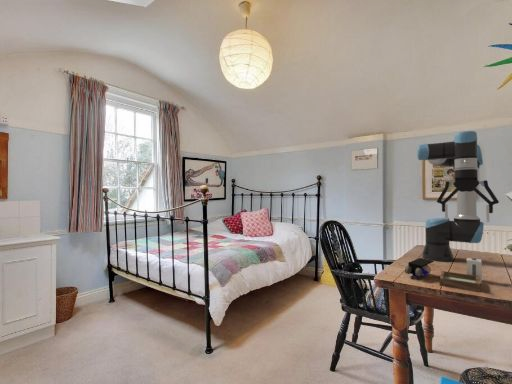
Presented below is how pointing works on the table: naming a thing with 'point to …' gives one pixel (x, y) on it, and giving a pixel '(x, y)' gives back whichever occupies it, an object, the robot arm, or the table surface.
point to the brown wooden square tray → (460, 281)
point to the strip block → (474, 267)
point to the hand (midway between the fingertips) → (466, 220)
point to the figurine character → (418, 267)
